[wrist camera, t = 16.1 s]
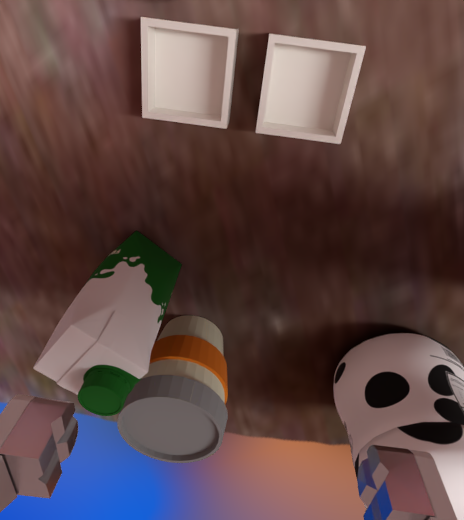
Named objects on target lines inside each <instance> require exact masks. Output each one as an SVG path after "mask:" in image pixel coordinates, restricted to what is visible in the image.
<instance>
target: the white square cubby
mask: <svg viewBox="0 0 464 520" xmlns="http://www.w3.org/2000/svg"><path fill="white" fill-rule="evenodd" d="M238 33H239V29H234V28H226V27H218V26H211V25H203V24H195V23H188V22H180V21H173V20H165V19H157V18H149V17H141V71H142V118H150V119H157V120H164V121H172V122H179V123H187V124H194V125H202V126H209V127H217V128H224V129H227V127H228V124H229V121H230V111H231V101H232V91H233V82H234V72H235V62H236V52H237V43H238Z"/></svg>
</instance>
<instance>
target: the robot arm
mask: <svg viewBox="0 0 464 520" xmlns="http://www.w3.org/2000/svg"><path fill="white" fill-rule="evenodd" d="M74 412H75V406H74V403H73V402H66V401H59V400H52V399H46V398H39V397H34V396H27V395H20V394H17V395H16V396H14V397H13V398H12V399H11V400H10V401H9V403H8V404H7V406H6V407H5V409H4V410H3V411H2V413H1V414H0V512H1V511H2V510H3V509H4V508H6V507H7V506H8V505H9V504H10V503H11V502H12V501H13V500H14V499H15V498H16V497H17V495H25V496H34V497H42V498H50V497H51V495H52V493H53V491H54V489H55V486H56V484H57V482H58V480H59V478H60V476H61V474H62V470H61V465H60V463H61V462H62V461H64V460H65V459H66V458H68V457H69V456H70V454H71V452H72V450H73V447H74V445H75V442H76V438H77V434H78V422H77V420H76V419H75V418H74V417H73V414H74ZM367 456H368V458H367V459H365V460H363V461H362V462H361V464H360V466H359V468H358V477H357V481H358V490H359V496H360V498H361V500H362V501H363V502H364V504H365V505H366V506H367V509H366V511H365V514H364V516H363V517H364V520H457V517H456V515H455V512H454V510H453V507H452V505H451V502H450V499H449V497H448V494H447V492H446V489H445V487H444V484H443V481H442V479H441V476H440V474H439V471H438V469H437V466H436V463H435V461H434V458H433V457H432V455H431V454H430V453H428V452H423V451H415V450H408V449H404V448H396V447H388V446H379V445H371V446H369V448H368V450H367Z"/></svg>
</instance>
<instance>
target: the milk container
mask: <svg viewBox="0 0 464 520" xmlns="http://www.w3.org/2000/svg"><path fill="white" fill-rule="evenodd" d="M333 389H334V400H335V405H336V408H337V411H338V414H339V416H340V418H341V420H342V422H343V424H344V426H345V428H346V430H347V432H348V436H349V441H350V447H351V453H352V459H353V465H354V468H355V472H356V477H358V468H359V466H360V464H361V462H362V461H363V460H365V459H367V458H368V456H367V450H368V448H369V446H371V445H379V446H388V447H396V448H404V449H408V450H415V451H423V452H428V453H430V454H431V455H432V457H433V458H434V461H435V463H436V466H437V469H438V471H439V474H440V476H441V479H442V481H443V484H444V487H445V489H446V492H447V494H448V497H449V499H450V502H451V505H452V507H453V510H454V512H455V515H456V517H457V520H464V366H463V364H462V363H461V362H460V360H459V359H458V358H457V357H456V356H455V355H454V354H453V353H452V351H451V350H450V349H448V348H447V347H446V346H445V345H443V344H442V343H440V342H438V341H436V340H434V339H432V338H430V337H427V336H424V335H420V334H415V333H388V334H383V335H379V336H376V337H372V338H369V339H367V340H365V341H363V342H361V343H359V344H358V345H356V346H354V347H353V348H352V349H350V350H349V351H348V352H347V353H346V354H345V356H344V357H343V358H342V359H341V361H340V362H339V364H338V366H337V368H336V371H335V375H334V386H333ZM364 505H365V504H364ZM365 508H366V509H367V506H366V505H365Z"/></svg>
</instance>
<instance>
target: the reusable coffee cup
mask: <svg viewBox="0 0 464 520" xmlns="http://www.w3.org/2000/svg"><path fill="white" fill-rule="evenodd" d="M227 397H228V387H227V365H226V361H225V358H224V356H223V337H222V334H221V332H220V330H219V329H218V328H217V326H216V325H215V324H213V323H212V322H211V321H209V320H207V319H205V318H202V317H199V316H193V315H185V316H179V317H176V318H174V319H172V320H170V321H169V322H168V323H167V324H166V326H165V327H164V329H163V331H162V333H161V334H160V336H159V338H158V340H157V341H156V342H155V343H154V345H153V348H152V351H151V356H150V362H149V369H148V373H146V374H145V375H144V376H143V377H142V379H141V380H140V381H139V382H138V383H136V384H135V386H134V388H133V390H132V391H131V392H130V393H129V394H128V396H127V398H126V401H125V403H124V406H123V408H122V410H121V411H120V413H119V416H118V420H117V422H118V429H119V432H120V434H121V436H122V437H123V439H124V440H125V441H126V442H127V443H128V444H129V445H130V446H131V447H133V448H134V449H135V450H137V451H138V452H140V453H142V454H144V455H146V456H149V457H151V458H154V459H158V460H161V461H166V462H174V463H188V462H194V461H199V460H202V459H205V458H207V457H209V456H211V455H213V454H214V453H215V452H216V451H217V450H218V449H219V447H220V446H221V443H222V439H223V435H224V431H225V426H226V422H227V418H228V415H227V409H226V406H225V404H226V402H227Z"/></svg>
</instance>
